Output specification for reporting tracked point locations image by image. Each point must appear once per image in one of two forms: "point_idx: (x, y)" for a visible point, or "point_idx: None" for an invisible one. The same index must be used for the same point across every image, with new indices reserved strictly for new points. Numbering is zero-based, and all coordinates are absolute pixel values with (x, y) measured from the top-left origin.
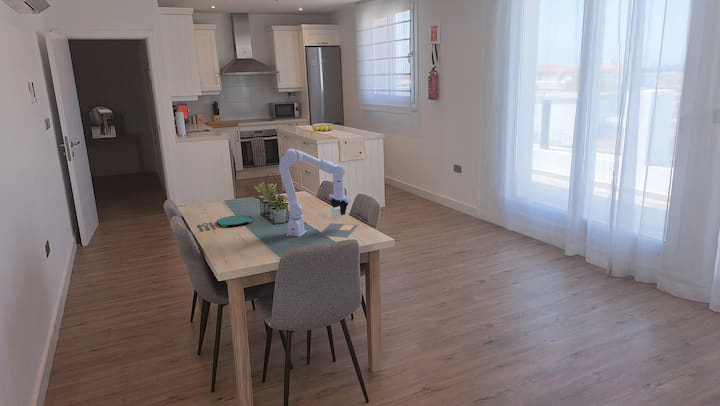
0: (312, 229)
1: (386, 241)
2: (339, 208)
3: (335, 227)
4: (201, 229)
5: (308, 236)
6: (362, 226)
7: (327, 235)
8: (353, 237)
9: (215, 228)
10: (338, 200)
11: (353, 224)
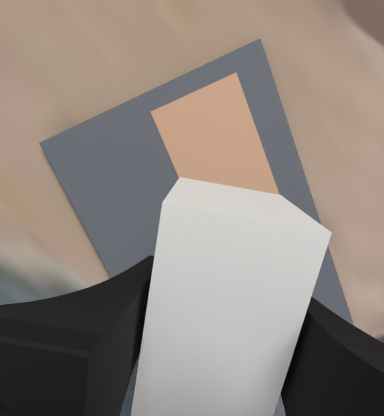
0: (41, 298)
1: None
2: (245, 382)
3: (147, 209)
4: None
5: (126, 398)
6: (295, 38)
7: None
8: (377, 291)
9: None
10: (97, 393)
11: (214, 61)
